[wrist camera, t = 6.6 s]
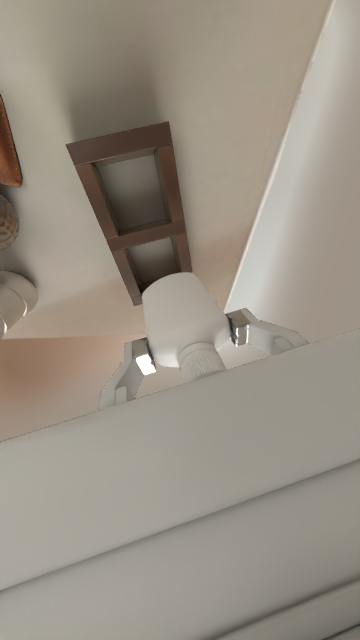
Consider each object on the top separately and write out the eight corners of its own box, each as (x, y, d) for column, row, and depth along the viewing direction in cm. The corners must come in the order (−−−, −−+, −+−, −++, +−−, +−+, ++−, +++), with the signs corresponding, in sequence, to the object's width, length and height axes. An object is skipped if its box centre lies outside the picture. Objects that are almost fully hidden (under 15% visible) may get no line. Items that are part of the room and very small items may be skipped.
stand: (75, 151, 20) (65, 144, 17) (163, 131, 20) (168, 120, 17) (134, 294, 31) (134, 306, 28) (188, 279, 32) (194, 288, 29)
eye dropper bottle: (192, 310, 19) (250, 425, 10) (140, 308, 18) (152, 443, 8) (203, 272, 17) (292, 377, 8) (143, 265, 15) (165, 389, 6)
